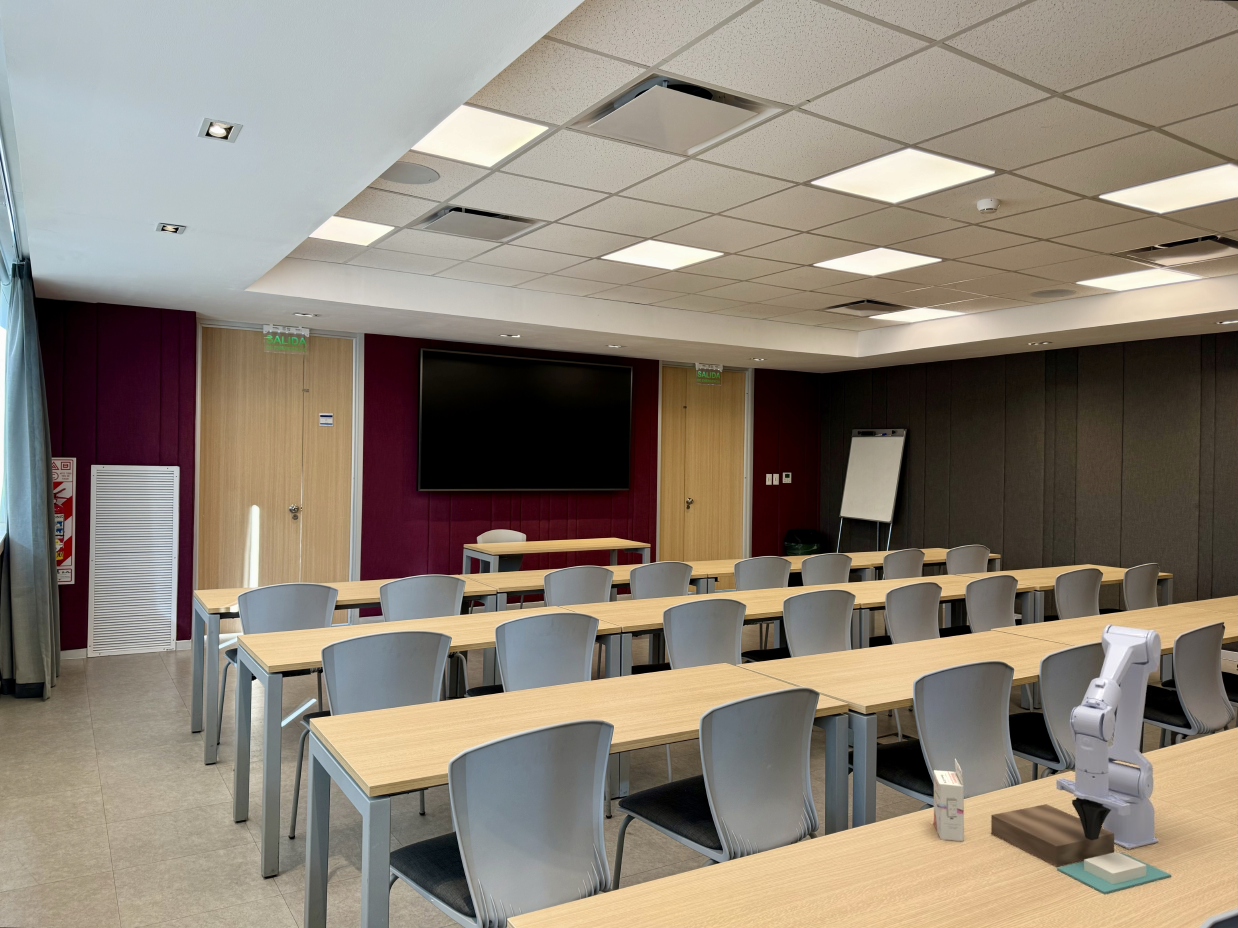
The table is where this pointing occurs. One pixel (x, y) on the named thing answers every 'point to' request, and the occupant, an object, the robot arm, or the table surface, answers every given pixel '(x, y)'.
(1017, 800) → the table surface
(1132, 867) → the tile
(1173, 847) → the table surface
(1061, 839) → the stand
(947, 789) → the ink cartridge box
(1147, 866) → the mat
